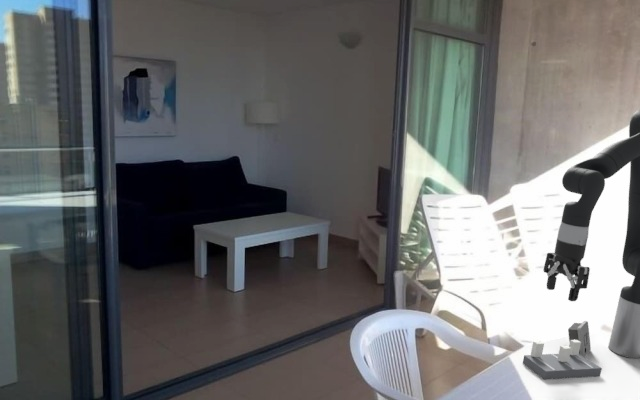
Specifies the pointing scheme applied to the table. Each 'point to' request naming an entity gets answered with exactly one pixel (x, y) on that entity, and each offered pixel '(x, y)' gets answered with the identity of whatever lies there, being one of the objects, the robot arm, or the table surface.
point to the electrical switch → (581, 336)
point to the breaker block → (561, 367)
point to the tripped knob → (564, 353)
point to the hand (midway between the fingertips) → (561, 294)
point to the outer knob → (537, 349)
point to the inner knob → (574, 347)
